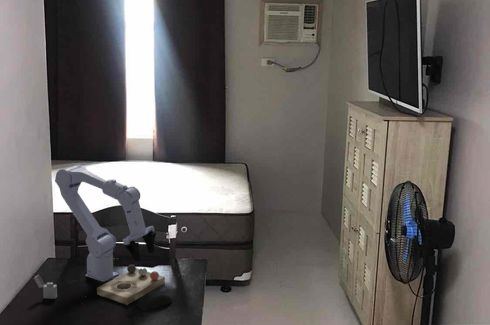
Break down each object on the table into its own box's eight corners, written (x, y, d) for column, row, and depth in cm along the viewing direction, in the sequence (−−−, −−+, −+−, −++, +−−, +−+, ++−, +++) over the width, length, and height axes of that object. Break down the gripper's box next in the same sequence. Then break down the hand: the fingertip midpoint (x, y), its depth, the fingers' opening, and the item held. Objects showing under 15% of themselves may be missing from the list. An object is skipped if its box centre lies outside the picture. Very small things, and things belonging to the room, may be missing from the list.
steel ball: (136, 276, 193) (136, 268, 192) (142, 273, 196) (142, 265, 195) (143, 278, 191) (143, 270, 191) (149, 275, 194) (149, 267, 193)
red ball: (148, 280, 190) (148, 272, 189) (153, 277, 193) (153, 269, 192) (155, 282, 189) (155, 274, 188) (160, 279, 191) (160, 271, 191)
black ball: (125, 273, 195) (125, 265, 195) (131, 270, 198) (131, 262, 197) (131, 275, 194) (131, 267, 193) (137, 272, 197) (137, 264, 196)
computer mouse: (173, 302, 180) (173, 292, 179) (144, 312, 173) (144, 301, 172) (163, 296, 185) (163, 285, 184) (135, 305, 177) (134, 294, 177)
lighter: (57, 296, 182) (56, 274, 180) (55, 298, 180) (54, 277, 178) (36, 295, 182) (35, 274, 180) (34, 298, 180) (33, 276, 178)
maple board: (97, 294, 184) (96, 287, 183) (135, 274, 201) (135, 268, 200) (127, 304, 177) (127, 298, 176) (164, 283, 194) (164, 276, 193)
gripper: (129, 227, 181) (139, 264, 182) (156, 214, 193) (165, 248, 195) (115, 228, 184) (124, 264, 186) (142, 215, 197) (151, 249, 198)
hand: (144, 256), depth 191 cm, fingers open, 7 cm apart
